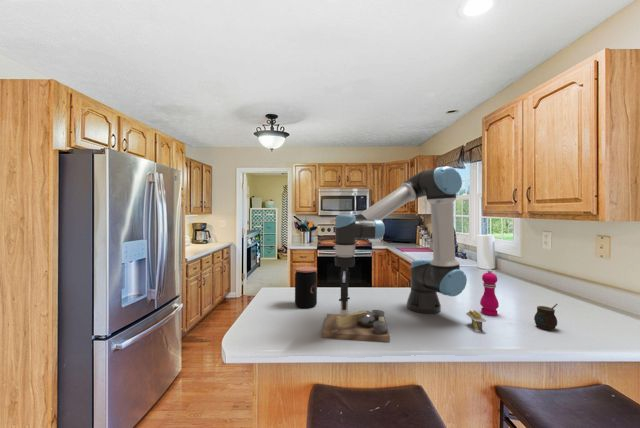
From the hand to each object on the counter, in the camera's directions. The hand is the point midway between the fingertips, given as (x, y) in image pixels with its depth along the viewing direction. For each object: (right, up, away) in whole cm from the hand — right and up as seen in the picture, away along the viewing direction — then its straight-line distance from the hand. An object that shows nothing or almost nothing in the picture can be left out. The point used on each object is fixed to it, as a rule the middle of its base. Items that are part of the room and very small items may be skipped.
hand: (344, 317), depth 109 cm
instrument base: (+5, -6, +3) cm, 8 cm away
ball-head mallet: (+4, -3, 0) cm, 5 cm away
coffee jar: (-16, -5, +30) cm, 35 cm away
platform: (+52, -7, +5) cm, 53 cm away
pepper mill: (+67, -6, +21) cm, 71 cm away
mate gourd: (+81, -6, +5) cm, 81 cm away
